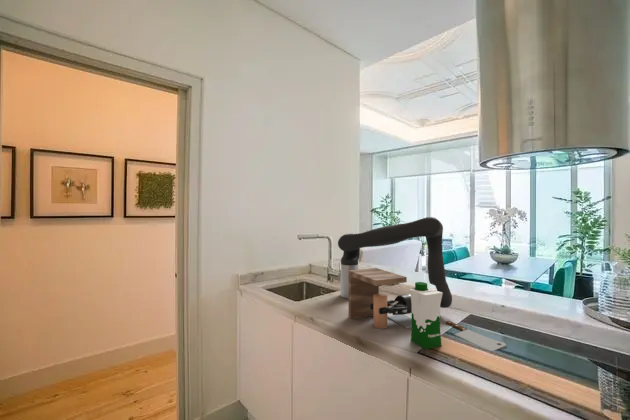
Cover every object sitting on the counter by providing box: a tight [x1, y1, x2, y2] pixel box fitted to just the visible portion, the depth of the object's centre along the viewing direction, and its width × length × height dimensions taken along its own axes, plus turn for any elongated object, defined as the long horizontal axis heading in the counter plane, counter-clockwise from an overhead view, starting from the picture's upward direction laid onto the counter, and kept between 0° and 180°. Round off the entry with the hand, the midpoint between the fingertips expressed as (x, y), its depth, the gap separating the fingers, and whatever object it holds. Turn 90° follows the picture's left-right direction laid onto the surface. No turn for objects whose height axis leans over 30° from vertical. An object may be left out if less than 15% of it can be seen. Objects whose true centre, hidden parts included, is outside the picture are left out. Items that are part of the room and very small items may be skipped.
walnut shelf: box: [348, 267, 408, 320], centre depth 118 cm, size 20×14×20 cm
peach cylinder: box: [372, 292, 389, 330], centre depth 116 cm, size 5×5×12 cm
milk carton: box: [408, 281, 443, 350], centre depth 100 cm, size 9×9×20 cm
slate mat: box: [388, 314, 412, 329], centre depth 120 cm, size 12×8×1 cm, turn 23°
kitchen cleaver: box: [445, 320, 507, 352], centre depth 107 cm, size 24×1×10 cm
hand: (375, 308), depth 115 cm, fingers closed on peach cylinder, 5 cm apart
